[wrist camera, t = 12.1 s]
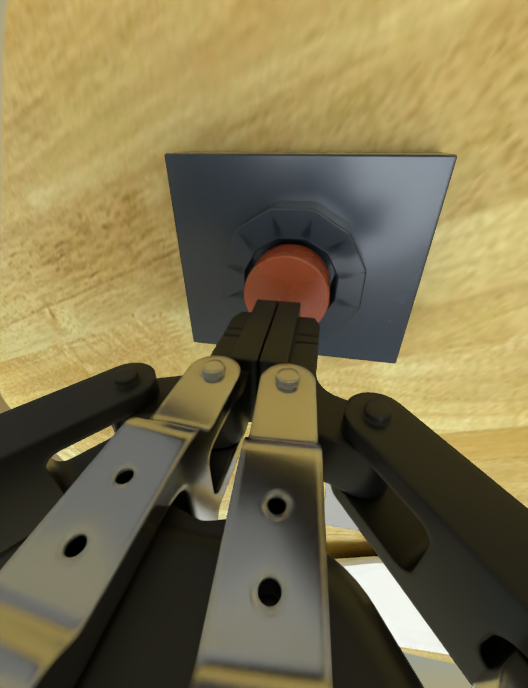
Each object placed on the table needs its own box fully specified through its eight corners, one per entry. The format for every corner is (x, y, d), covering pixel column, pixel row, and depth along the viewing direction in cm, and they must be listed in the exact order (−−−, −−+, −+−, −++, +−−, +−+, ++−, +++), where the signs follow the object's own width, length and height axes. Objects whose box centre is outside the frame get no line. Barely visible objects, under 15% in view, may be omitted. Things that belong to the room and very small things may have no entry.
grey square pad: (326, 479, 28) (326, 499, 26) (421, 492, 26) (426, 514, 25) (322, 524, 32) (322, 544, 31) (403, 538, 31) (407, 559, 29)
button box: (205, 324, 21) (181, 359, 18) (183, 151, 15) (142, 155, 12) (390, 342, 19) (401, 385, 16) (442, 152, 13) (476, 157, 10)
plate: (528, 646, 39) (540, 676, 37) (334, 619, 47) (333, 643, 44) (568, 552, 27) (589, 588, 25) (297, 536, 35) (294, 563, 32)
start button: (253, 313, 16) (244, 331, 14) (251, 240, 13) (241, 253, 12) (325, 319, 15) (324, 339, 14) (334, 245, 13) (334, 258, 12)
